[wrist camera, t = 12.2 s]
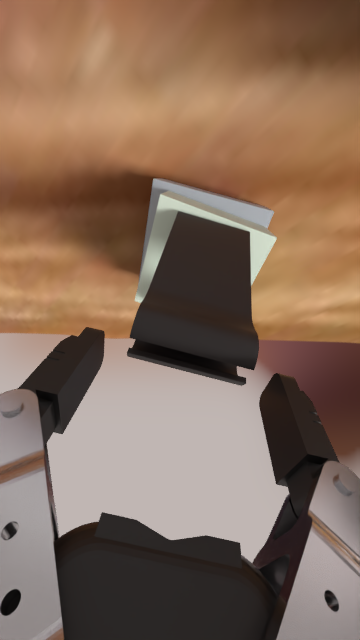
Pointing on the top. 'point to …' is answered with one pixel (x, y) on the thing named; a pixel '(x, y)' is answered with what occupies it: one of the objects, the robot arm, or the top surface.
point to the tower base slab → (212, 199)
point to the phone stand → (199, 303)
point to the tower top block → (174, 202)
